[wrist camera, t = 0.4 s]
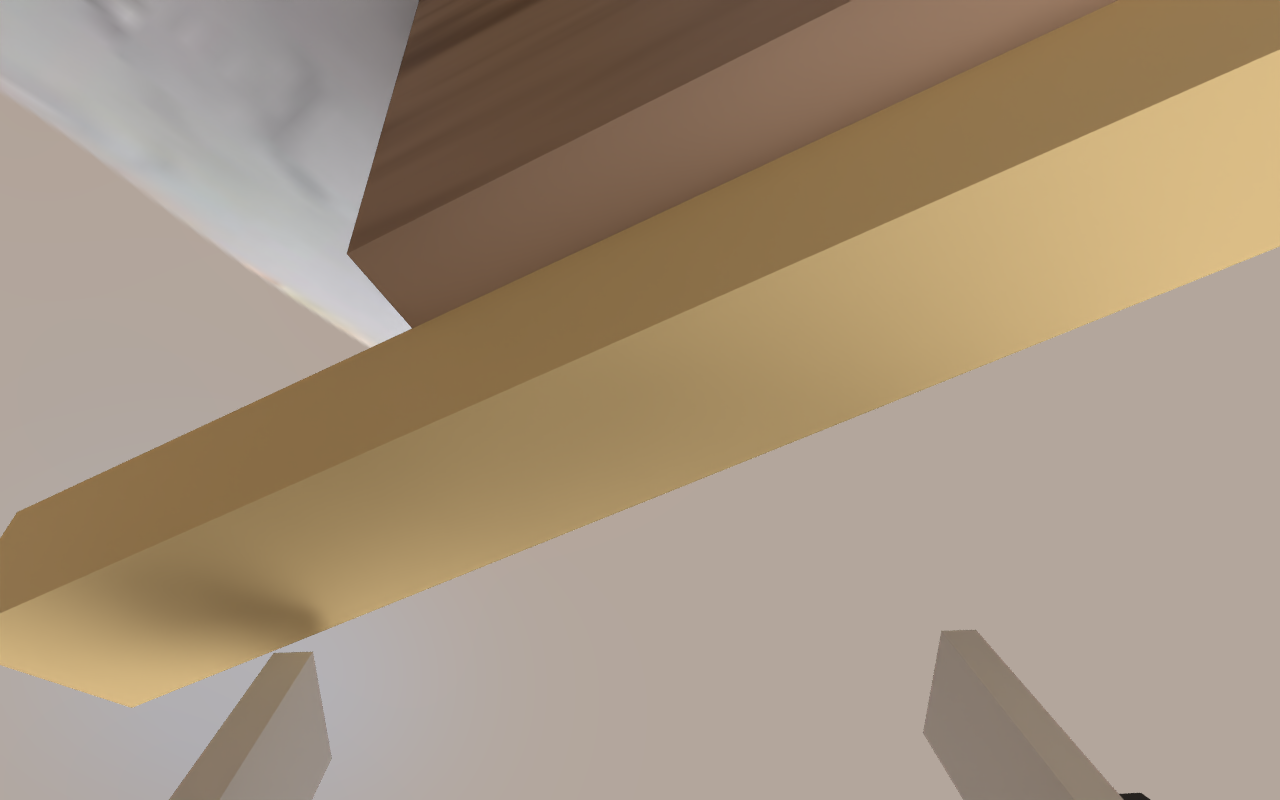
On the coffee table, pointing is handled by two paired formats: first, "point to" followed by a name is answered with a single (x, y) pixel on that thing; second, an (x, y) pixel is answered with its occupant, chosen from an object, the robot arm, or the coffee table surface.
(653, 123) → the stepped stand
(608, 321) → the ochre batten
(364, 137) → the coffee table surface
